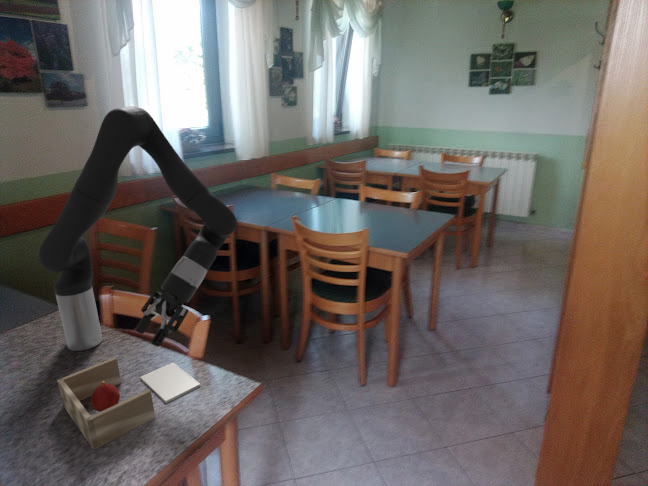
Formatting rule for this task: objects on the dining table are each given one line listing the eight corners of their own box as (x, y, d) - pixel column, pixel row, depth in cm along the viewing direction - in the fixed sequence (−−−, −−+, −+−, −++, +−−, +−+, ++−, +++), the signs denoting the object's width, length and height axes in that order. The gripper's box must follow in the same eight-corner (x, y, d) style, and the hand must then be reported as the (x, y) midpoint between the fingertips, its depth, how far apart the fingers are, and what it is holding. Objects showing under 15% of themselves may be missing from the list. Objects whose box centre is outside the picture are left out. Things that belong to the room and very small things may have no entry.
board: (140, 379, 112) (140, 377, 112) (173, 364, 118) (173, 362, 118) (166, 403, 102) (165, 401, 102) (200, 385, 108) (200, 383, 108)
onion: (91, 422, 97) (84, 391, 94) (97, 406, 102) (90, 376, 100) (120, 417, 98) (113, 386, 96) (123, 401, 103) (118, 372, 101)
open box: (63, 405, 102) (57, 380, 100) (119, 381, 111) (115, 357, 109) (93, 449, 89) (87, 421, 87) (155, 417, 98) (150, 391, 96)
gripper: (159, 265, 110) (120, 322, 105) (188, 279, 100) (146, 343, 96) (181, 278, 115) (145, 334, 111) (211, 293, 105) (172, 354, 101)
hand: (146, 338), depth 103 cm, fingers open, 8 cm apart
